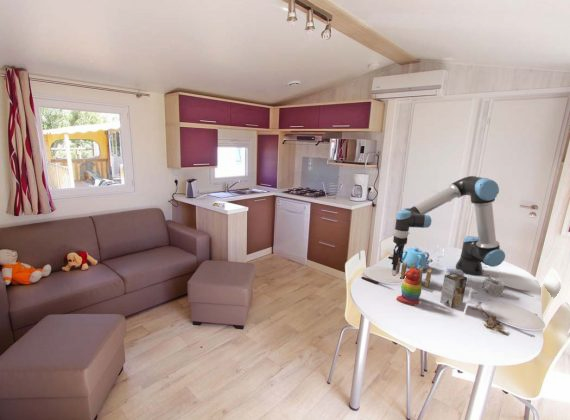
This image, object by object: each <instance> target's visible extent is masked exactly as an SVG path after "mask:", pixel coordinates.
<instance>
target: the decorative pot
mask: <svg viewBox="0 0 570 420" xmlns="http://www.w3.org/2000/svg"><path fill="white" fill-rule="evenodd" d="M429 258H430V253H429V252H427V251H423V250H421V249H419V248H418V247H410V246H409V247H408V248H407V247H406V249H405V250H403V257H402V260H401V261H402V262H401V264H403V263H404V262H407V269H408V270H409V269H410V266H411V265H412V264H415V268H417V269H419V268H420V266H422V267H424V268H423V270H425V269H426V268H427V266H428V264H429V263H430V262H429Z"/></svg>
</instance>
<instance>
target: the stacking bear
mask: <svg viewBox="0 0 570 420" xmlns="http://www.w3.org/2000/svg"><path fill="white" fill-rule="evenodd" d="M405 276H406V278H405V280H404V282H403V283H401V284H402V285H401V294H400V295H398V296H396V298H395V299H396V302H399V303H401V304H405V305H408V306H417V305H419V303H420V300H419V299H420V297H421V295H422V289H421V283H420V281H419V279H420V276H421V274H420V272H419V271H418V269H417V268H415V269H414V268H411V269H409V268H408V270H406V272H405Z"/></svg>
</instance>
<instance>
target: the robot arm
mask: <svg viewBox="0 0 570 420" xmlns="http://www.w3.org/2000/svg"><path fill="white" fill-rule="evenodd" d="M499 193H500V187H499V185H498V183H497V182H496V181H494V180H493V179H490V178H486V177H480V176H475V175H470V176H465V177H462V178H460V179H458V180H456V181H454V182H453V183H452V182H451V183H450V184H449V185H448V187H447V188H445V189H443V190H442V191H439V192H437V193H436V194H434V195H432V196H430V197H428V198H427V199H424V200H423V201H421V202H419V203H416V204H415V205H413V206H412V207H410V208H409V207H408V208H406V207H405V208H403V209H398V210H397V213H396V217H395V226H394V233H393V238H392V239H393V240H392V242H393V243H394V244H395V245H394V248H393V254H392V261H391V265H392V268H391V272H392V275H395V276H396V275H397V268H398V259H399V258H400V262H399V269H398V274H400V270H401V265H402V263H401V262H402V261H401V260H402V257H403V251H405V250H404V248H405V245H407V243H408V237H409V235H410V232H409V230H410V228H419V229H421V228H422V229H425V228H430V226H431V225H432V218H431V215H429V214H428V213H430V212H432V211H434V210H435V209H437V208H439V207H441V206H443V205H445V204H446V203H448V202H450V201H452V200H454V199H456V198H457V199H459V198H461V197H464V196H468V197H470V202H471V204H473V205H474V211H475V212H474V213H475V220H476V229H477V236H473V235H471V236H470V235H469V236H465V237H464V238H463V242H462V249H461V253H460V258H459V259H458V260H457V262H456V264H455V269H460V270H462V271H463V272H464V274H465V275H467V274H468V275H473V276H480V275H482V274H483V271H484V270H483V266H482V264H483V265H486V266H489V267H491V268H494V267H495V268H496V267H498V266H500V265H501V264H502V263H503V262H504V261H505V258H506V254H505V252H504V250H502V249H501V248H500V247H501V246H500V242H499V241H497V240H496V239H497V238H496V230H495V219H494V210H493V203H494V202H495V200H496V198H497V197H498V195H499Z"/></svg>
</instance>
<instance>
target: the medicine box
mask: <svg viewBox="0 0 570 420" xmlns="http://www.w3.org/2000/svg"><path fill="white" fill-rule="evenodd" d="M453 273H457V274H460V275H462V276H465V273H464V272H463V271H462V270H460V269H456V268H446V273H445V275H449V274H453Z"/></svg>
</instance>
